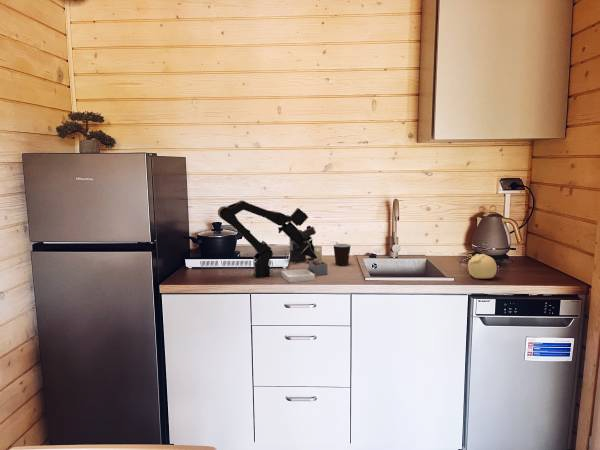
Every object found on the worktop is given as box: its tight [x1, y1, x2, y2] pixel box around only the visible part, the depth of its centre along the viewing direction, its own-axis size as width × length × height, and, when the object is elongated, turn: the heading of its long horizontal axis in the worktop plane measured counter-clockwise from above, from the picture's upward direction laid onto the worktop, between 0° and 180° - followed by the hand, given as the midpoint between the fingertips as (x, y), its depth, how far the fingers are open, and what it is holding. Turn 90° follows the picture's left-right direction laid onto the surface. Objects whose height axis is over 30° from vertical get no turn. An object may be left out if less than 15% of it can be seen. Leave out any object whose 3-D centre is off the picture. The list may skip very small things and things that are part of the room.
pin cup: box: [308, 260, 328, 277], centre depth 210 cm, size 7×7×5 cm
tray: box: [280, 268, 316, 283], centre depth 202 cm, size 12×12×2 cm
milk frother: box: [289, 239, 314, 263], centre depth 235 cm, size 14×16×15 cm
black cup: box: [333, 243, 351, 267], centre depth 228 cm, size 12×9×10 cm
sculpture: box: [467, 253, 498, 279], centre depth 199 cm, size 11×12×11 cm
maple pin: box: [313, 245, 323, 265], centre depth 209 cm, size 4×4×13 cm
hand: (317, 256), depth 209 cm, fingers open, 9 cm apart
